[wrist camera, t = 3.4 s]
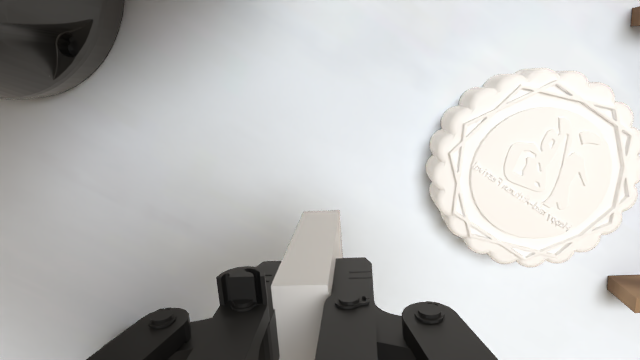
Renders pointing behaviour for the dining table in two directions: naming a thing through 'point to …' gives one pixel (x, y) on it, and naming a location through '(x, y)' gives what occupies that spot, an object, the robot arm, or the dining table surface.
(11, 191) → the dining table surface
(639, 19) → the wooden u-shaped frame
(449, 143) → the mooncake
